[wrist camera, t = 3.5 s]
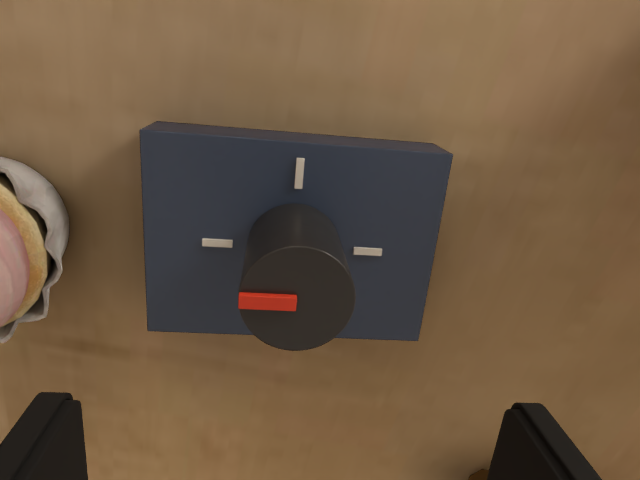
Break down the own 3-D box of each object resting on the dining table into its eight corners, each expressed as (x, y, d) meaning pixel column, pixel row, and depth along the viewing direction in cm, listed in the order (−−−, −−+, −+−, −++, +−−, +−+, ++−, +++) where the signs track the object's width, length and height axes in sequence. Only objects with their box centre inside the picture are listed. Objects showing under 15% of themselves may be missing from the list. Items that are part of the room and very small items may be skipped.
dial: (344, 206, 22) (364, 252, 17) (334, 290, 24) (350, 357, 18) (249, 199, 22) (238, 245, 16) (245, 286, 23) (235, 354, 18)
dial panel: (434, 143, 25) (454, 154, 22) (404, 313, 28) (419, 343, 25) (156, 120, 23) (138, 129, 20) (161, 303, 27) (146, 333, 24)
